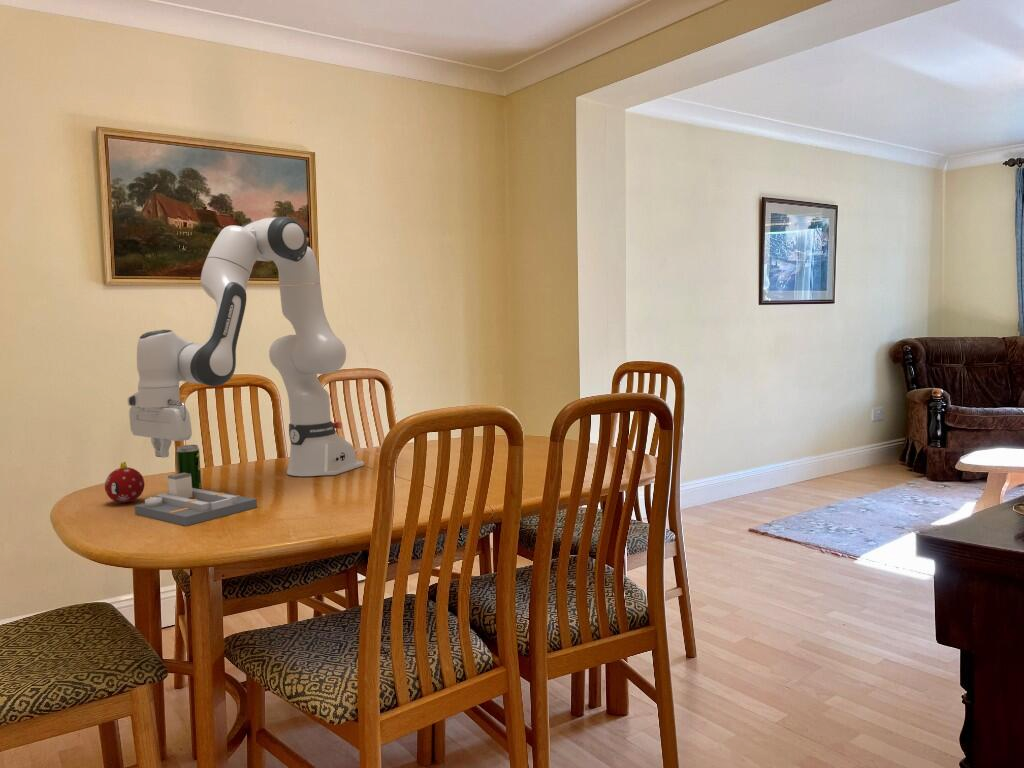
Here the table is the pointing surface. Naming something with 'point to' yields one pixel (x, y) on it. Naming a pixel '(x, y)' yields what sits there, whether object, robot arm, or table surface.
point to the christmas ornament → (124, 484)
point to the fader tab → (180, 485)
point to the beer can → (190, 463)
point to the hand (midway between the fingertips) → (162, 456)
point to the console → (194, 506)
